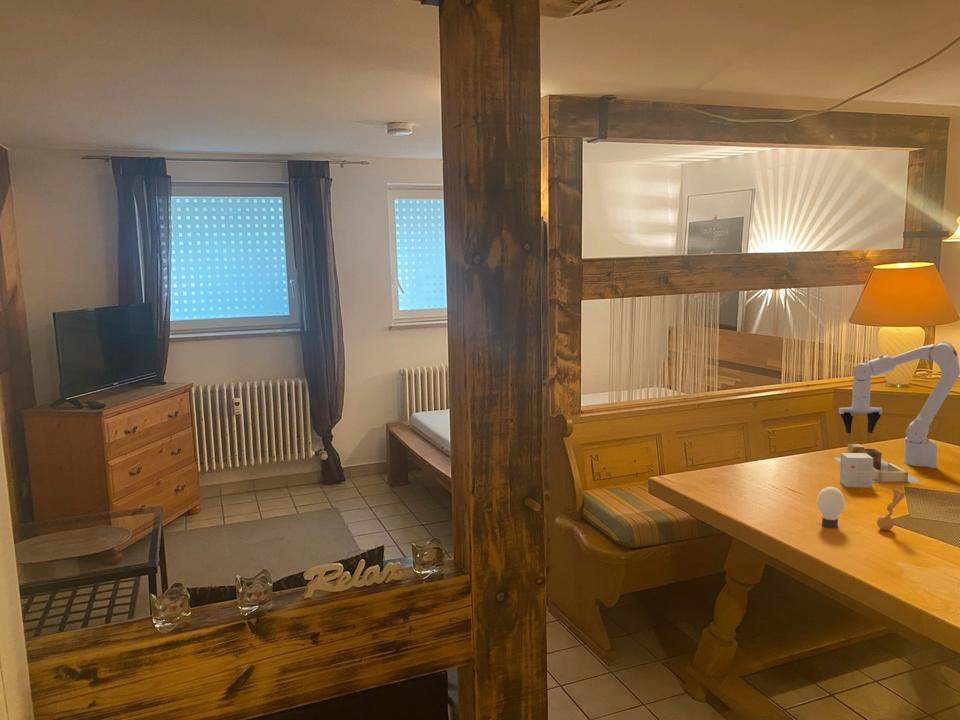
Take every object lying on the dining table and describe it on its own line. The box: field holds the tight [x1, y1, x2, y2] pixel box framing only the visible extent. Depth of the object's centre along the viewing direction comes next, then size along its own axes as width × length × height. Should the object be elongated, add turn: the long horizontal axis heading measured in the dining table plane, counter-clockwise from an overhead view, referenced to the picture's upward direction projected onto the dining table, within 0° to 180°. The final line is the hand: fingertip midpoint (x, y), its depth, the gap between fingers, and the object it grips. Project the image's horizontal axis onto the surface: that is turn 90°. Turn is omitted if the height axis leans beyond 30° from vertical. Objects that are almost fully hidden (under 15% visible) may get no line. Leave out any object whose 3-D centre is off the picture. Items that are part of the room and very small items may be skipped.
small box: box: [839, 452, 873, 488], centre depth 226 cm, size 8×6×10 cm
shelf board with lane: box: [833, 457, 922, 483], centre depth 242 cm, size 16×28×4 cm, turn 177°
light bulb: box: [817, 486, 846, 528], centre depth 195 cm, size 7×7×11 cm
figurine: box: [876, 488, 905, 531], centre depth 190 cm, size 8×6×12 cm
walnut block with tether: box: [846, 443, 882, 470], centre depth 249 cm, size 5×15×6 cm, turn 177°
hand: (859, 432), depth 257 cm, fingers open, 7 cm apart
